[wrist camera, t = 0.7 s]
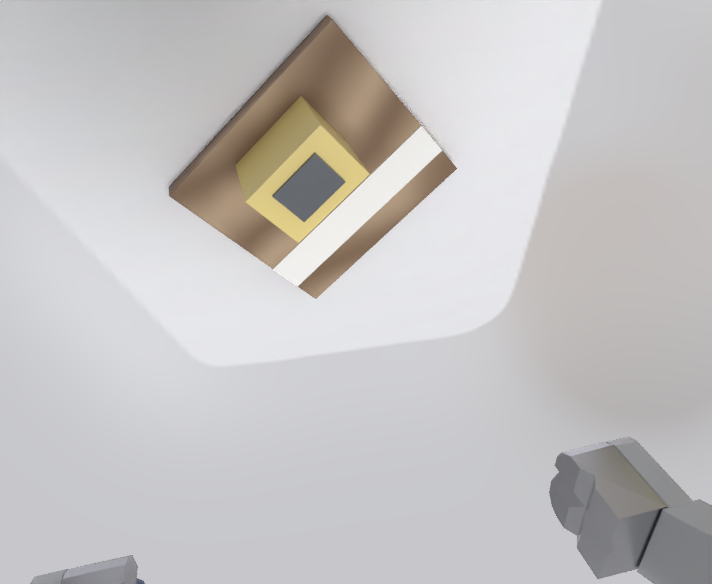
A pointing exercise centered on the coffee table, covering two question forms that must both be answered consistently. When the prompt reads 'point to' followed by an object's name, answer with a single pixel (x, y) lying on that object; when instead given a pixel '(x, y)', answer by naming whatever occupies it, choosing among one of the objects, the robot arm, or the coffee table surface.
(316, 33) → the board
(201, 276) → the coffee table surface
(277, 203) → the block
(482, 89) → the coffee table surface
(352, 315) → the coffee table surface
